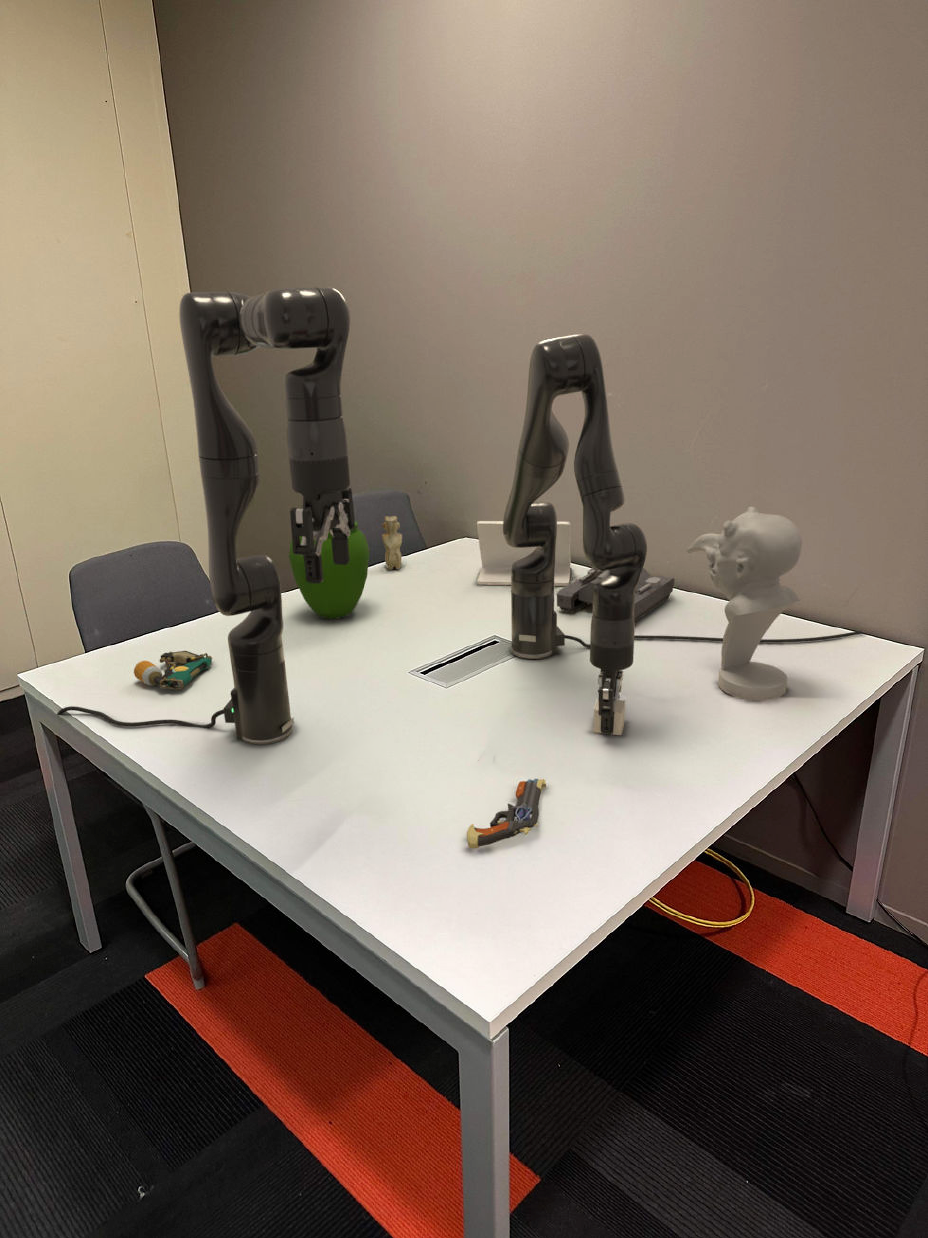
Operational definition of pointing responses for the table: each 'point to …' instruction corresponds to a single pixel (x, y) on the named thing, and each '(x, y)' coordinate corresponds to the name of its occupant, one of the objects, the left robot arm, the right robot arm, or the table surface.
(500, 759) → the table surface
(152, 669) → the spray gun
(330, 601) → the vase
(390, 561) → the sculpture
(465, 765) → the table surface
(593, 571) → the toy
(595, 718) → the beige cube
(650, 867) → the table surface
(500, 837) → the toy gun
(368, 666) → the table surface
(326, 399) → the left robot arm
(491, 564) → the tablet stand
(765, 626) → the bust sculpture
